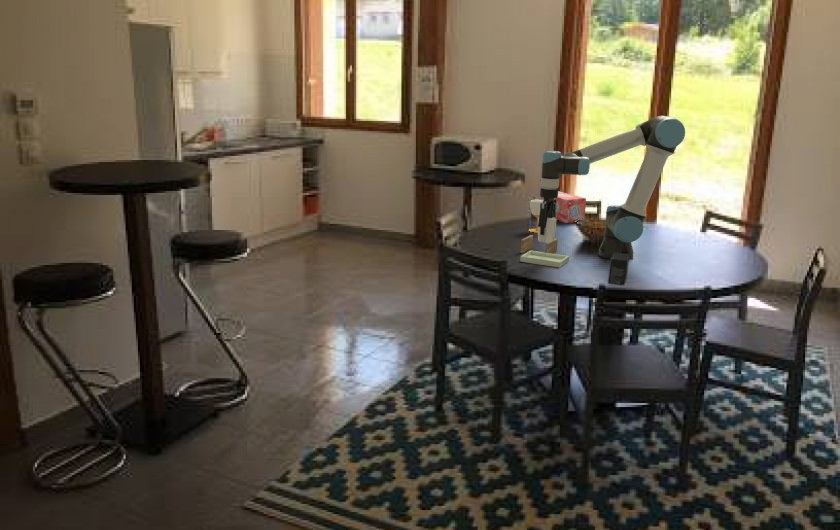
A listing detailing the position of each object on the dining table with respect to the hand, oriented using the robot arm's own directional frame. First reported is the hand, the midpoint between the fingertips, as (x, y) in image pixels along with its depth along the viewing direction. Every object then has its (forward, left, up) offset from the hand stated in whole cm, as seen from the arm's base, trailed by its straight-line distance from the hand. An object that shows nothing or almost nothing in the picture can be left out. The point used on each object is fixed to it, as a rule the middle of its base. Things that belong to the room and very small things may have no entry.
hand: (545, 240), depth 296 cm
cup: (+24, -54, -10) cm, 60 cm away
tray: (0, 0, -10) cm, 10 cm away
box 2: (-35, +12, -10) cm, 38 cm away
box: (+24, -93, -10) cm, 97 cm away
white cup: (0, 0, 0) cm, 0 cm away
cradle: (+8, -14, -10) cm, 19 cm away
